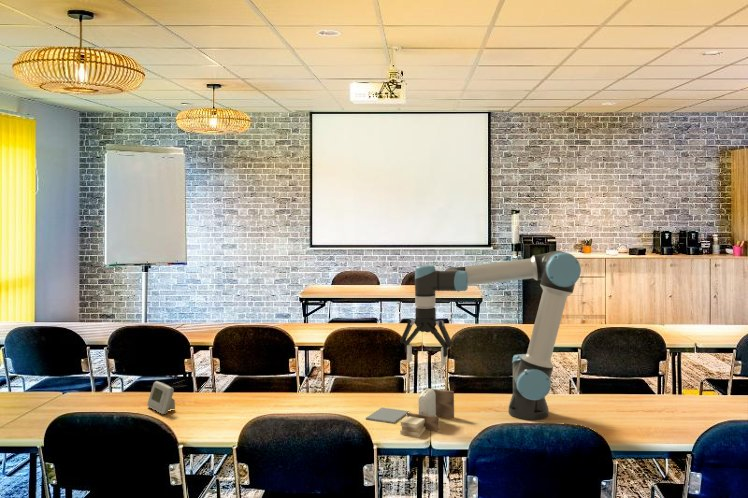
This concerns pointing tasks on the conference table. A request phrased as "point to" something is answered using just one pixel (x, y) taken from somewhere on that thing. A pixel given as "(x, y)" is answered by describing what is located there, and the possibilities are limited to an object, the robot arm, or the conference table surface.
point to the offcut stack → (412, 426)
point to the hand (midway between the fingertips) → (426, 363)
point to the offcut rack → (438, 409)
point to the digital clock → (161, 398)
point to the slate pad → (387, 415)
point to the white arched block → (427, 403)
